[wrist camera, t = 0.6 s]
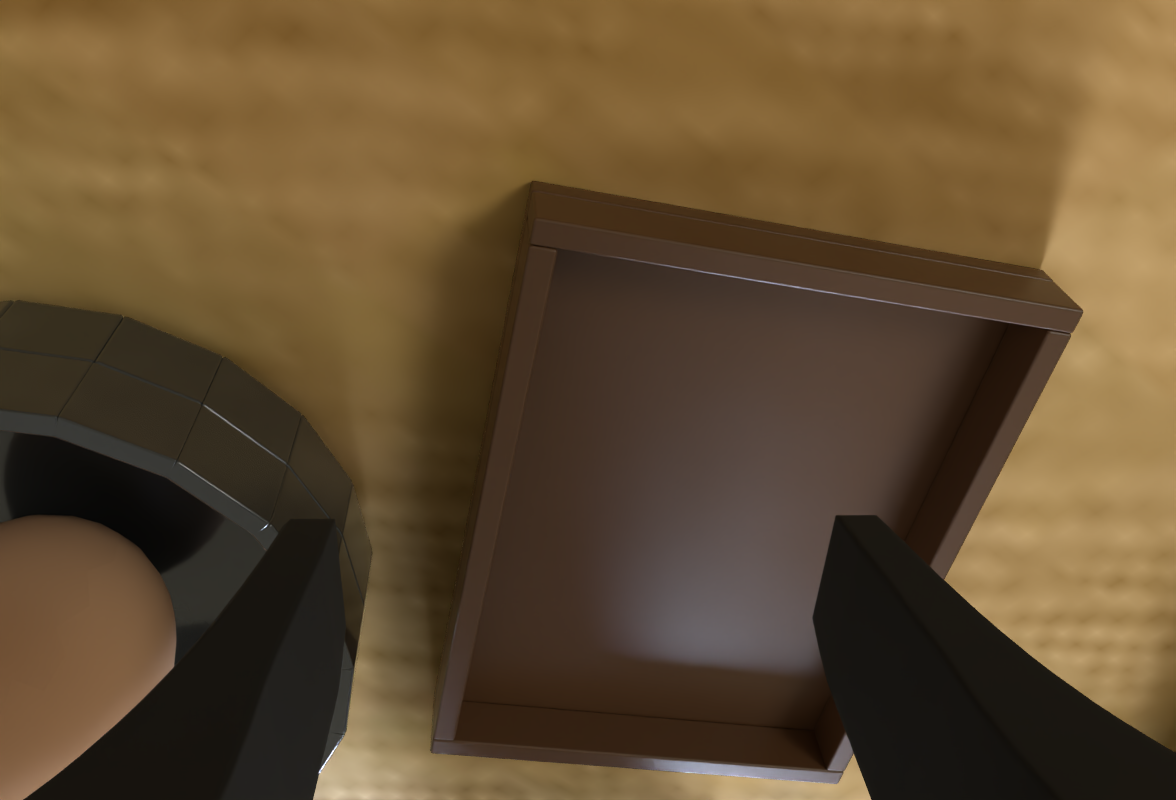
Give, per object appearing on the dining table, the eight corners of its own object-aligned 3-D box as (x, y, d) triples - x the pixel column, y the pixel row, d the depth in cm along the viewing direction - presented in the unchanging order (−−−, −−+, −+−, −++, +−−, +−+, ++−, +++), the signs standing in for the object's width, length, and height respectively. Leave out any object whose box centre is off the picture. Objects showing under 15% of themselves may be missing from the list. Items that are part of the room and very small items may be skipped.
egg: (-92, 552, 26) (-301, 836, 19) (49, 412, 24) (-127, 673, 17) (116, 669, 28) (-2, 954, 22) (257, 552, 26) (175, 824, 20)
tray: (819, 728, 32) (838, 785, 31) (433, 695, 30) (429, 754, 29) (1042, 269, 24) (1085, 310, 22) (531, 179, 22) (534, 217, 20)
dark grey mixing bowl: (347, 745, 31) (327, 882, 27) (-166, 705, 29) (-267, 851, 25) (399, 344, 24) (381, 457, 20) (-284, 245, 21) (-452, 353, 18)
